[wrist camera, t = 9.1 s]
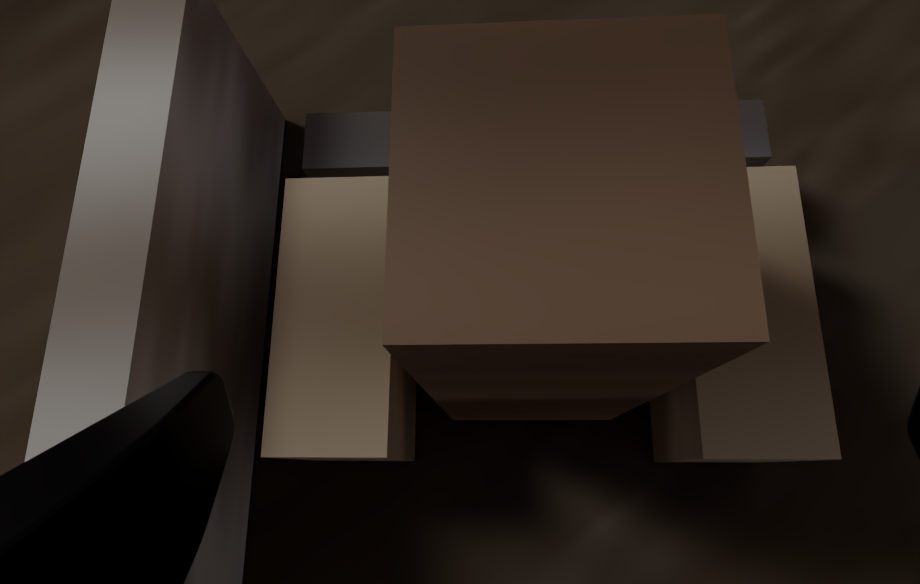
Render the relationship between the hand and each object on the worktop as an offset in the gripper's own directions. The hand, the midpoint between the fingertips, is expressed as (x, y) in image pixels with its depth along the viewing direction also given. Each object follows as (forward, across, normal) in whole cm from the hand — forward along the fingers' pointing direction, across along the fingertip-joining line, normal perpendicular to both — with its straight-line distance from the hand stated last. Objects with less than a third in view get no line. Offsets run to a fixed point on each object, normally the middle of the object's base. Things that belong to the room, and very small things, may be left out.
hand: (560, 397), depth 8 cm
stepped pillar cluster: (+8, +2, +4) cm, 9 cm away
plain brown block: (+8, 0, +4) cm, 8 cm away
